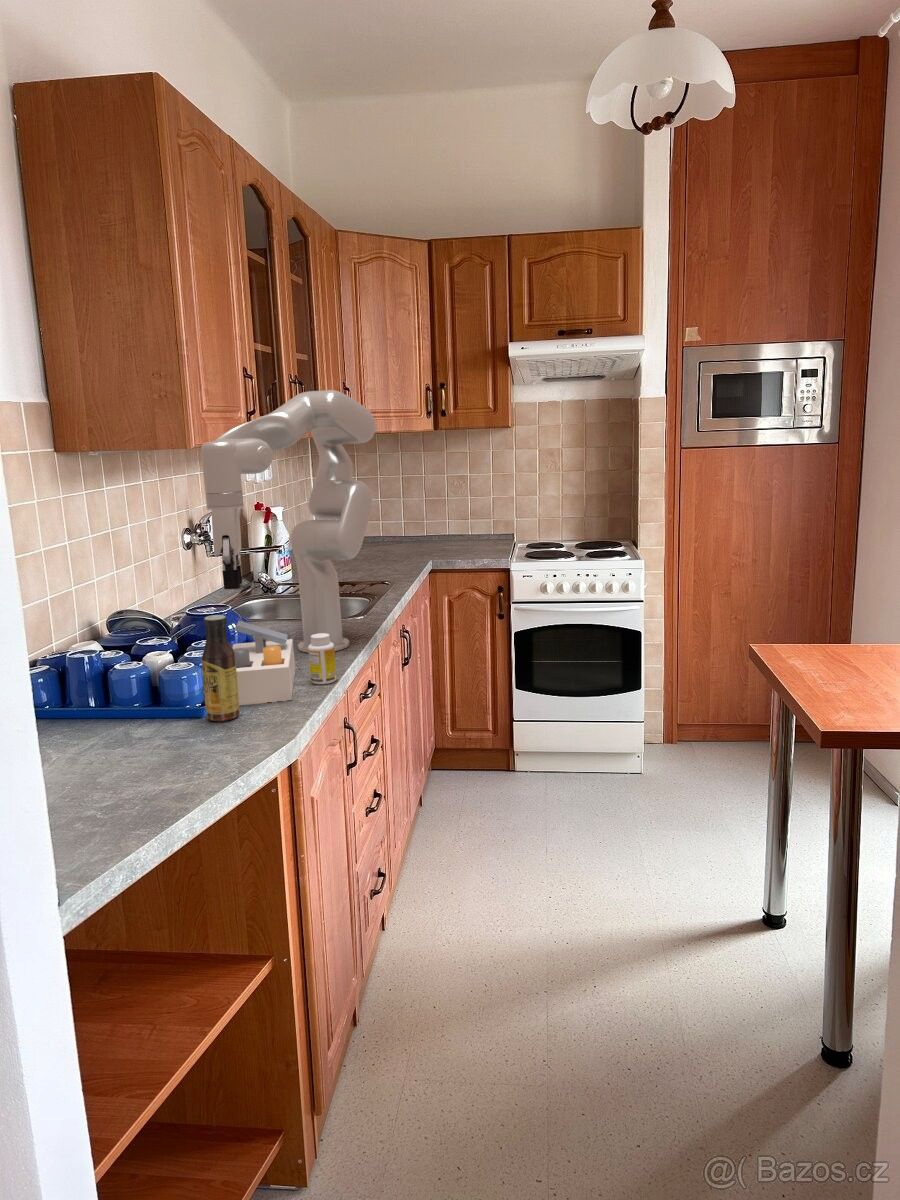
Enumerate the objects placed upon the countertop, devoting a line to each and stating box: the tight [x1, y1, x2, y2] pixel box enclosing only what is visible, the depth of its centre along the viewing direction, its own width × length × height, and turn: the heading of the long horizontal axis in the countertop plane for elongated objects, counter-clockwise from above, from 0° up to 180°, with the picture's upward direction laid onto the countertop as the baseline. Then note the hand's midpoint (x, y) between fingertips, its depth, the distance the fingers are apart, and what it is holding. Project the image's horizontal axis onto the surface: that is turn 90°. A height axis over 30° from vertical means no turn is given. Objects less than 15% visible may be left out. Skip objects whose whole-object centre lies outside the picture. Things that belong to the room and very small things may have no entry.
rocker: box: [234, 620, 288, 645], centre depth 192 cm, size 6×11×2 cm, turn 98°
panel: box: [232, 636, 296, 706], centre depth 188 cm, size 24×13×10 cm, turn 8°
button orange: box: [263, 646, 282, 666], centre depth 181 cm, size 4×4×8 cm
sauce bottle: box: [200, 614, 240, 723], centre depth 168 cm, size 7×6×20 cm
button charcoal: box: [234, 648, 250, 668], centre depth 180 cm, size 4×4×8 cm
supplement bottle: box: [307, 633, 338, 685], centre depth 189 cm, size 6×6×10 cm
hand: (233, 585), depth 189 cm, fingers open, 4 cm apart
